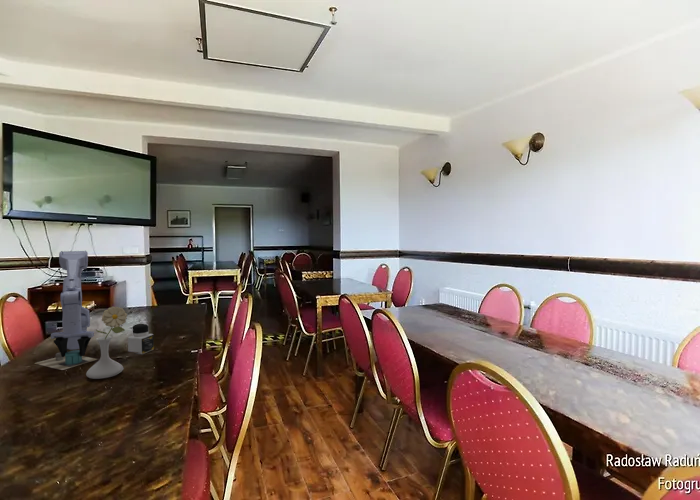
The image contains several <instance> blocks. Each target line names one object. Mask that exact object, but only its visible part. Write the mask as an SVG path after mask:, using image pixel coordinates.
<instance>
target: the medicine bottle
mask: <svg viewBox="0 0 700 500" xmlns="http://www.w3.org/2000/svg"><path fill="white" fill-rule="evenodd" d="M154 345H155V341H154V334H153V333H149V324H147V323H137V324H134V325H133V326H132V335H131V336H130V335H129V336H128V337H127V349H128V350H127V352H131V353H133V354H134V355H145V354H146V353H149V352H151V351H154V350H155V346H154Z"/></svg>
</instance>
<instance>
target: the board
mask: <svg viewBox="0 0 700 500" xmlns="http://www.w3.org/2000/svg"><path fill="white" fill-rule="evenodd" d="M97 360H98V361H99V358H94V357H89V356H85V355H84V356H82V362H80V363H77V364H72V365H67V364H65V357H62V356H61V353H60V352H57V353H55V357H54V358H53V357H52V358H49V359H46V360H42V361H37V362H35V363H34V364H36V365H39V366H44V367H48V368H51V369H56V370H61V371H63V370H64V371H65V370H68V369H70V368H71V369H72V368H74V367H77V366H81V365H84V364H87V363H90V362H94V361H97Z"/></svg>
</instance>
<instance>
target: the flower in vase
mask: <svg viewBox="0 0 700 500" xmlns="http://www.w3.org/2000/svg"><path fill="white" fill-rule="evenodd" d="M127 317H128V313H127V312H126V311H125V310H124V308H123V307H119V306H111V307H108V308H107V309H105V310H104V311H103V313H102V316H101V321H102V322H103V324H105V325H104V326H106V327H110V329H109V331H108V332H106V331H102V330H98V329H95V331H96V332H97V333H101V334H105V335H106V336H99V337H97V338H95V340H96V341H97V343H98V345H99V348H100V358H99V359H98V361H96V362H95V363H94V364H93V365H92V366H91V367H90V368H89V369H88V370H87V371H86V373H85V375H86V377H87V378H89V379H93V380H99V379H100V380H101V379H107V378H111V377H115V376H117V375H119V374H120V373H122V372H123V371H124V366H123V364H121V363H119V362H117V361H116V360H114V359H112V358H110V354H109V347H110V346H109V345H110V342H111V340H112V339H113V336H110V335H109V334H110V333H111V331H112V332H113V333H115V334H120V333H123V332H125V331H126V329H125V328H123V327H122V326H123V325H124V324H126V322H127Z"/></svg>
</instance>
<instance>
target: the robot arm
mask: <svg viewBox="0 0 700 500" xmlns="http://www.w3.org/2000/svg"><path fill="white" fill-rule="evenodd" d="M88 254H89V253H88V251H87V250H74V251H73V250H71V251H69V250H67V251H66V250H64V251H63V250H61V251H59V252H58V260H59V261H58V263H59V266H60V268H61V270H63V271H66V277H65V278H63V281H62V292H61V293H60V305H61V311H62V319H61V320H62V321H61V322H62V323H61V324H62V330H63V331H60V332H52V333H51V334H50V339H54V340H53V344H54V345H55V346H56V347H57V348H58V350H59V353H61V356H62V357H65V353H66V352H68V350H70V351H74V350H80V356H84V357H85V356H86V353H87V352H86V351H87V348H88V345H89V343H90V341H91V339H92V338H93V337H95V331H91V330H90V331H89V330H88V328H89V327H90V326H91V315H90V310H89V308H87V307H85V306H83V292H82V272H83V270H86V269H88V266H89V265H88V264H89V263H88V262H89V255H88Z"/></svg>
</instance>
